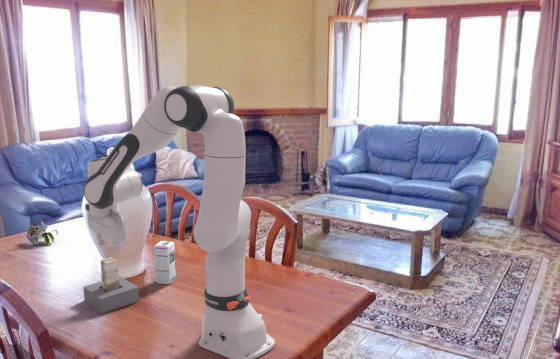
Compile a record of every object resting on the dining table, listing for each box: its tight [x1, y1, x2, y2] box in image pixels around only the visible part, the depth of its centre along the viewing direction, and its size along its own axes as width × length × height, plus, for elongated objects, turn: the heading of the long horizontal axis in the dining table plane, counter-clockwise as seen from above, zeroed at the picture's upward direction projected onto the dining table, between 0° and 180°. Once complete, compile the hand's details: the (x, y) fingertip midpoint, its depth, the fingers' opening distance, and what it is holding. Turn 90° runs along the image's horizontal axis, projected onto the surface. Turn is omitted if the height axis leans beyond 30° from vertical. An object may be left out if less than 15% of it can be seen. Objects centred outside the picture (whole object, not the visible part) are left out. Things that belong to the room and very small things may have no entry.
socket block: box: [83, 275, 140, 315], centre depth 164 cm, size 13×13×5 cm
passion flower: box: [25, 220, 59, 245], centre depth 221 cm, size 11×11×12 cm
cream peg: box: [100, 256, 120, 292], centre depth 163 cm, size 4×4×14 cm
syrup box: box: [153, 240, 178, 285], centre depth 179 cm, size 6×6×14 cm
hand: (108, 248), depth 160 cm, fingers open, 8 cm apart
